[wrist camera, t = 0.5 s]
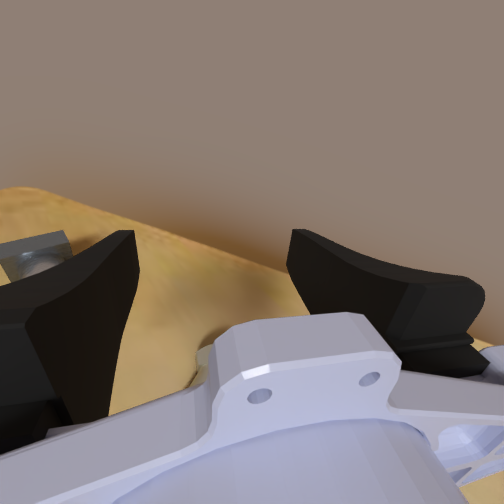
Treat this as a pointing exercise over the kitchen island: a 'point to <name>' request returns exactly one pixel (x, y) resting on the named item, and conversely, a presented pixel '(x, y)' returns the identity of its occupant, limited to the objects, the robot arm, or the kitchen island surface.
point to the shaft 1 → (34, 254)
